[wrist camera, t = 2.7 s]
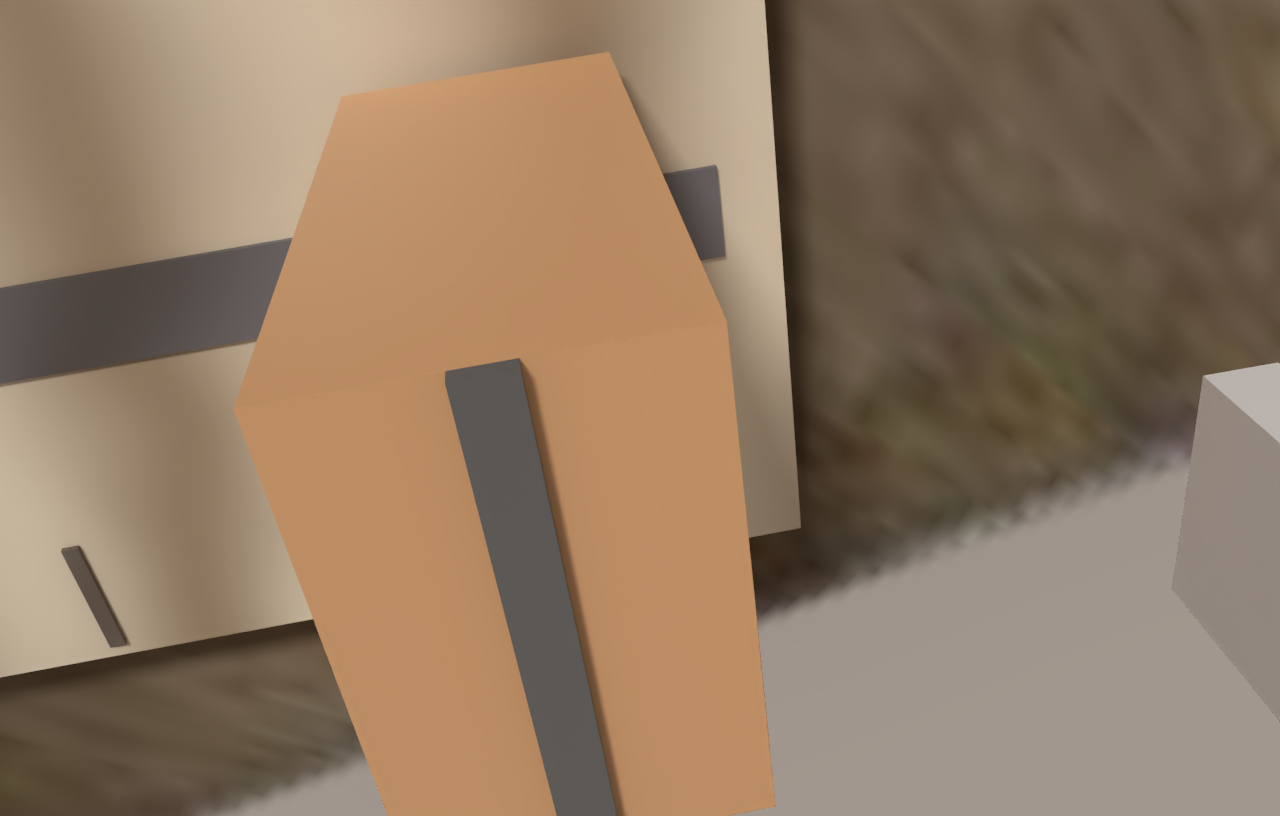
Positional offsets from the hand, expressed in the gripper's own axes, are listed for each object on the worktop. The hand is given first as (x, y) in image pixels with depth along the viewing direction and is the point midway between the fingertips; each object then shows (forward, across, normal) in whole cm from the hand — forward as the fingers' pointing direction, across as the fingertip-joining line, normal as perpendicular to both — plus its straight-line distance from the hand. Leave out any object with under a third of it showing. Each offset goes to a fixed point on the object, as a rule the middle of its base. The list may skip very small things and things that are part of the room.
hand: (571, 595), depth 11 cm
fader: (+8, 0, 0) cm, 8 cm away
